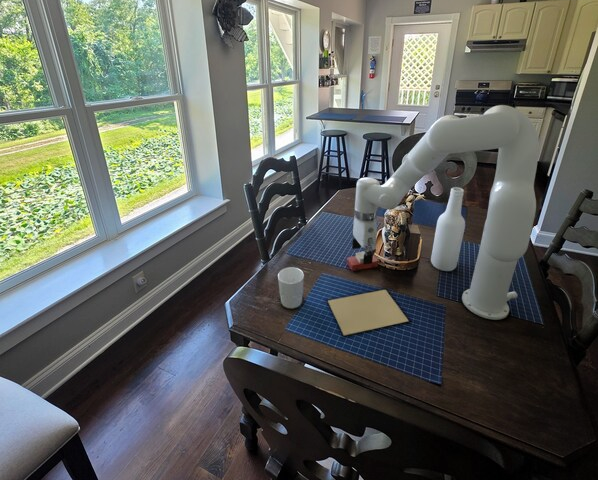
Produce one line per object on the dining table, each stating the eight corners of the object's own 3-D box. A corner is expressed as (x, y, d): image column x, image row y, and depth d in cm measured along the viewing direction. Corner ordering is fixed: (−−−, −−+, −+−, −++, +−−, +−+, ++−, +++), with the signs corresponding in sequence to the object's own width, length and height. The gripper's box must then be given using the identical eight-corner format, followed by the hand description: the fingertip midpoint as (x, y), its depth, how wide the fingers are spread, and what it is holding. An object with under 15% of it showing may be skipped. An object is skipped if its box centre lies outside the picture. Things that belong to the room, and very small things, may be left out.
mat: (385, 289, 105) (385, 289, 105) (408, 321, 93) (408, 320, 93) (327, 301, 101) (327, 300, 101) (344, 335, 89) (344, 335, 88)
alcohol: (450, 257, 121) (465, 184, 110) (460, 272, 113) (477, 194, 102) (427, 257, 122) (439, 184, 110) (435, 272, 114) (449, 194, 102)
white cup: (282, 312, 97) (281, 285, 93) (276, 295, 104) (275, 269, 100) (307, 307, 99) (306, 280, 95) (300, 290, 106) (299, 265, 102)
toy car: (371, 260, 121) (372, 249, 119) (377, 267, 116) (378, 256, 114) (346, 264, 119) (347, 253, 117) (351, 272, 114) (352, 261, 112)
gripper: (387, 224, 102) (382, 268, 109) (364, 201, 118) (361, 241, 125) (366, 227, 101) (362, 271, 107) (345, 204, 116) (343, 244, 123)
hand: (361, 255), depth 116 cm, fingers open, 9 cm apart
